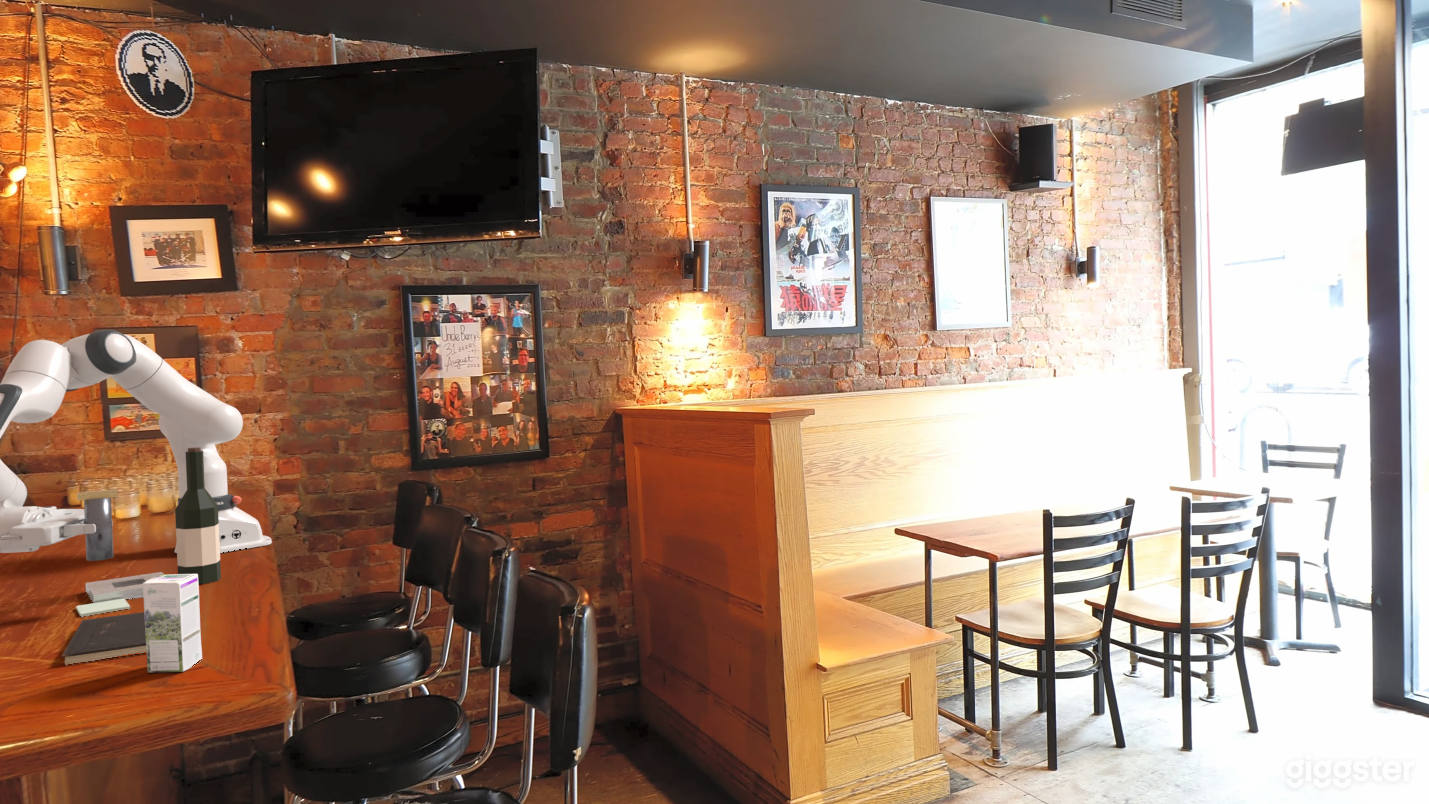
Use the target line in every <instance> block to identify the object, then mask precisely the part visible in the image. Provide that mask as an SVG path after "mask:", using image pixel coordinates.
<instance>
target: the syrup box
mask: <svg viewBox="0 0 1429 804" xmlns="http://www.w3.org/2000/svg"><path fill="white" fill-rule="evenodd" d="M199 586H200V585H199V582H198V574H178V573H177V574H176V573H174V574H170V573H169V574H165V575H160V576H156V577H154V578H152V579H150V580H148V581H146V582H144V583H143V596H144V597H143V608H144V609H143V610H144V611H143V612H144V614H145V634H146V651H147V653H146V665H147V673H181V672H185V671H187V670H189V669H191V668H193V667H194V666H195V665H194V664H196V663H197V662H198V661H199V660H201V659H202V660H203V650H202V649H203V648H202V637H201V633H202V632H201V613H200V611H201V610H200V589H199V588H200V587H199ZM197 664H198V663H197ZM197 664H196V665H197ZM193 665H194V666H193ZM192 666H193V667H192Z"/></svg>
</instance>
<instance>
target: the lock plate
mask: <svg viewBox="0 0 1429 804" xmlns="http://www.w3.org/2000/svg"><path fill="white" fill-rule="evenodd" d="M160 575H166V574H164V572H162V571H160V572H152V573H144V574H138V575H130V576H126V577H125V576H124V577H118V578H110V579H104V580H97V581H90V582H85V593H86V592H87V593H86V595H87V594H88V595H89V596H88V595H87V596H88V598H89V597H90V598H89V600H90V601H91V600H92V601H91V603H92V602H93V603H98V602H105V601H111V600H117V599H123V598H124V599H125V600H126V599H129V600H135V599H140V598H144V596H143V583H144V582H146V581H148V580H150V579H152V578H154V577H156V576H160ZM132 598H133V599H132ZM134 598H135V599H134ZM126 601H127V600H126Z"/></svg>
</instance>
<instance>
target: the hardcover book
mask: <svg viewBox="0 0 1429 804" xmlns="http://www.w3.org/2000/svg"><path fill="white" fill-rule="evenodd" d="M144 652H147V651H146V634H145V614H144V611H143V612H135V613H126V614H120V615H119V614H118V615H112V616H104V617H95V618H88V619H87V618H86V619H82V620H81V622H80V624H79V626H78V628H76V631H75V633H73V636H72V637H71V639H70V641H69V642H68V644H67V646H66V648H65V649H64V651H63V653H62V654H61V658H64V664H65V666H69V665H68V664H72V665H74V664H73V663H79V662H86V663H89V662H88V661H92V662H96V661H95V660H99V661H101V660H100V659H105V658H112V657H117V656H122V655H128V654H135V653H144ZM79 664H80V663H79Z"/></svg>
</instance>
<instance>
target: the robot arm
mask: <svg viewBox="0 0 1429 804" xmlns="http://www.w3.org/2000/svg"><path fill="white" fill-rule="evenodd" d="M108 378H112V380H114V382H115V383H116V384H118V385H119V386H120V387H121V388H123V389H124V390H125V391H126V392H127V393H129V394H130V396H132V397H133V398H134V399H136V400H137V402H139V403H141V404H142V405H143V406H144V407H146V408H147V409H148V410H149V411H151V412H153V413H156V414H158V415H159V418H158V428H159V430H160V432H161V434H163V435H164V437H165V438H166V440H167V441H168V443H169V446H170V448H171V452H172V454H173V457H174V461H175V463H176V467H177V477H178V490H179V491H178V493H179V497H178V498H177V503H176V504H177V505H176V507H177V506H178V504H179V502H180V501H181V499H182V497H183V496H184V494H185V492H186V491H187V475H186V452H188V448H194V447H201V451H203V461H204V484H205V489H206V490H207V492H208V493H209V494H210V496H211V497H212V498H213V499H214V501H215V502H216V503H217V505H218V519H219V542H220V554H223V552H224V553H228V551H229V552H233V551H234V550H235V551H240V550H239V549H241V550H246V549H245V548H247V549H252V548H258V547H263V546H269V545H271V544H272V543H273V541H272V538H271V537H270V536H267V535H263V529H262V527H261V524H260V522H259V520H258V519H256V518H255V517H253V516H252V515H250V514H249V513H247V512H245V511H243V510H242V509H240V508H239V507H237V505H239V504H241V502H242V500H243V499H242V498H241V497H240V496H238V495H233V494H230V493H228V492H229V490H228V489H229V487H228V470H227V469H228V468H227V464H226V463H225V461H224V459H222V458H221V456H220V455H219V452H218V450H217V446H216V445H219V444H224V443H227V442H231V441H233V440H235V439H236V438H238V436H239V435H240V433H241V432H242V429H243V426H244V419H243V416H242V414H241V412H240V411H239V410H238V409H237V408H236V407H235V406H232V405H230V404H227V403H225V402H224V401H221V400H220V399H218V398H216V397H214V396H213V395H212V394H210V393H209V392H207V391H206V390H204V389H202V388H201V387H199V386H197V385H196V384H194V383H192V382H191V381H190V380H188V379H187V378H186V377H184V376H183V375H181V374H180V372H178V371H177V370H176V369H175V368H173V367H172V366H171V365H170V364H169V363H168V362H167V361H165V360H164V359H163V358H162V357H161V356H160V355H158V353H156V352H155V351H154V350H153V349H152V348H150V347H149V346H147V345H146V344H144V343H143V342H141V341H139V340H138V339H136V338H134V337H133V336H131V335H128V334H123V333H122V332H121V331H120V332H119V331H117V330H115V329H107V328H106V329H99V330H94V331H92V332H91V333H86V334H83V335H79V336H76V337H73V338H72V339H69V340H68V341H66V342H63V343H62V344H60V343H58V342H55V341H52V340H47V339H37V340H36V339H35V340H32V341H30V342H27V343H26V344H24V345H23V346H22V347H21V349H19V351H18V352H17V353H16V354H15V356H14V357H13V359H12V361H11V362H10V364H9V366H8V367H7V369H6V371H5V373H4V376H3V378H2V380H1V382H0V439H1V438H2V437H3V435H4V433H5V431H6V429H7V428H8V426H9V424H10V422H14V423H20V424H37V423H40V422H43V421H46V420H49V419H50V418H52V417H54V415H56V413H58V412H57V411H58V410H59V409H60V407H61V405H62V403H63V400H64V397H65V395H66V393H67V392H68V393H69V392H73V391H78V390H79V389H83V388H87V387H89V386H93V385H97V384H98V383H101V382H102V381H104V380H106V379H108ZM27 499H28V488H27V486H26V485H25V483H24V482H23V481H22V480H21V479H20V478H19V477H18V475H16V473H15V472H13V471H12V470H11V469H10V468H9V467H8V466H7V465H6V464H5V463H4V462H3V461H2V459H1V458H0V553H2V554H10V553H11V554H12V553H29V552H36V551H39V549H40V548H41V547H42V546H43V547H45V546H51V545H54V544H57V543H59V542H62V541H65V540H68V539H70V538H73V537H76V536H82V535H85V534H92V533H95V532H97V531H98V524H97V523H89V524H85V514H84V509H83V508H57V506H55V505H54V506H53V505H51V506H36V505H35V506H34V505H33V506H31V505H30V506H24V505H25V503H26V500H27ZM113 525H114V524H113V522H112V526H113ZM174 553H175V554H177V543H176V545H175V549H174Z"/></svg>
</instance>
